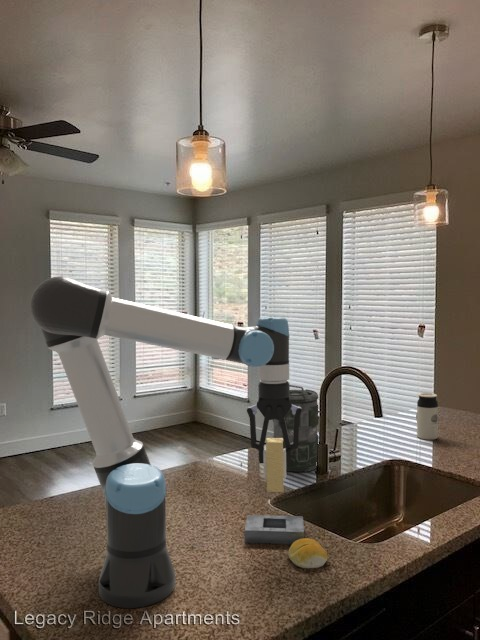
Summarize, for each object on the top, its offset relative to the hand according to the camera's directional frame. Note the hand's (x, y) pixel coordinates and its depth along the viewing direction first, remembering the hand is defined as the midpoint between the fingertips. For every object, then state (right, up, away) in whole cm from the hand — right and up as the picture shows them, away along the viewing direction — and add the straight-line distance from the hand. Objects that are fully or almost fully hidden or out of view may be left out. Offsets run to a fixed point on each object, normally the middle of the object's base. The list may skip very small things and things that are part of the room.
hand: (275, 476), depth 129 cm
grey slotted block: (0, -15, 0) cm, 15 cm away
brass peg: (0, -3, 0) cm, 3 cm away
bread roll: (+7, -15, -11) cm, 20 cm away
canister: (+11, -13, +54) cm, 57 cm away
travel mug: (+69, -11, +90) cm, 114 cm away
